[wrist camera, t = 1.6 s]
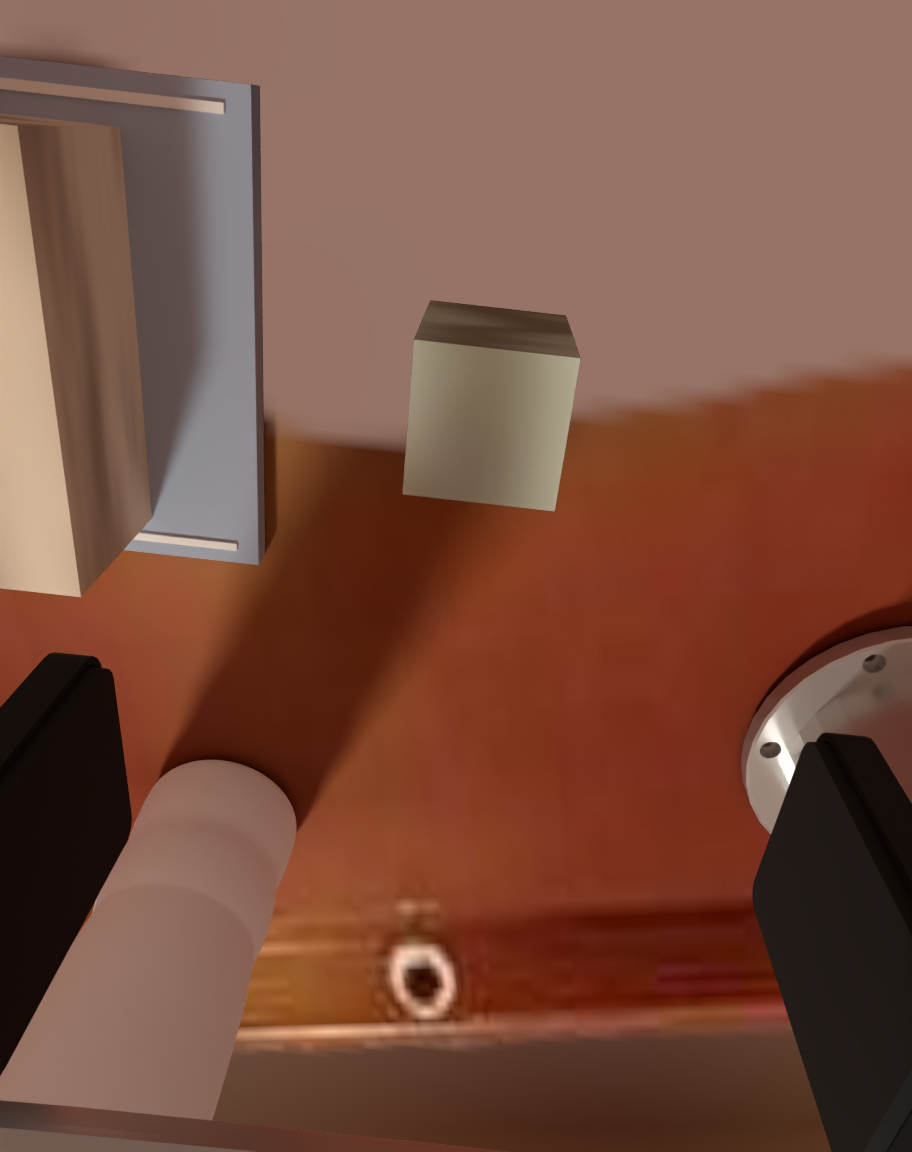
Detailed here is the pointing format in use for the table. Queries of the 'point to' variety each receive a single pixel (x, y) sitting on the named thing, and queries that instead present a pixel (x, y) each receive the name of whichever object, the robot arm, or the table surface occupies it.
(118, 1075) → the water bottle
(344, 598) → the table surface
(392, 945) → the table surface
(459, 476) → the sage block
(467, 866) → the table surface
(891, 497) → the table surface
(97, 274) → the plinth
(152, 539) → the board
